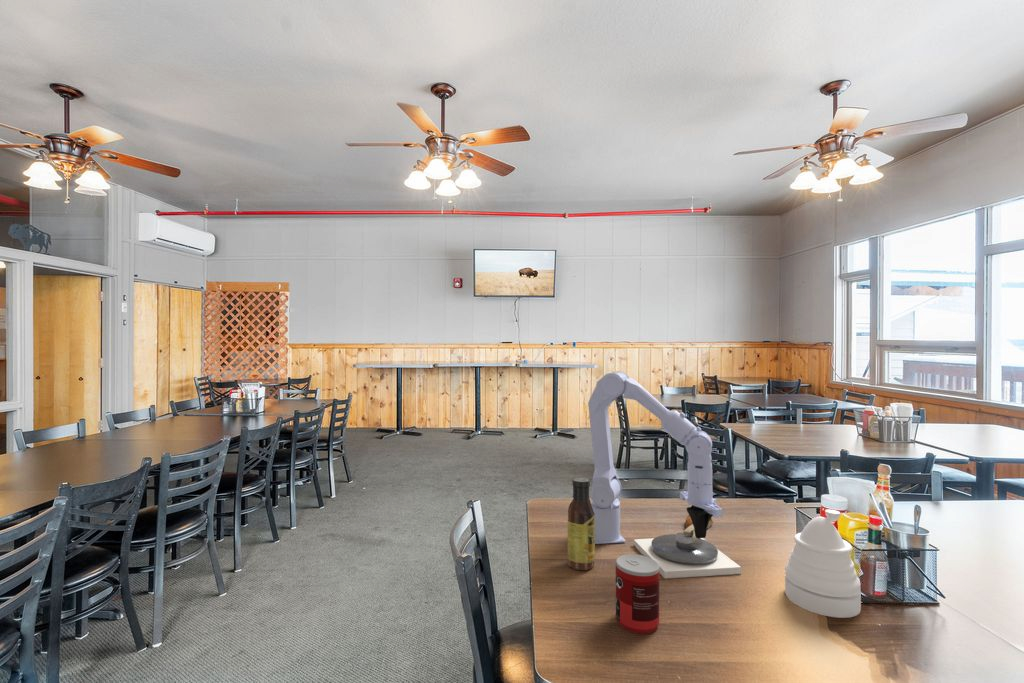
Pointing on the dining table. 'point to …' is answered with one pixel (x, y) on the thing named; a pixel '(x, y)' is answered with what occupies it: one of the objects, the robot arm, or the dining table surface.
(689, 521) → the pastry
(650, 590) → the canned food
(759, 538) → the dining table surface
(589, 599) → the dining table surface
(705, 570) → the base
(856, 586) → the honey pot
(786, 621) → the dining table surface
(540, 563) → the dining table surface
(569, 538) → the sauce bottle
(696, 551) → the handwheel
